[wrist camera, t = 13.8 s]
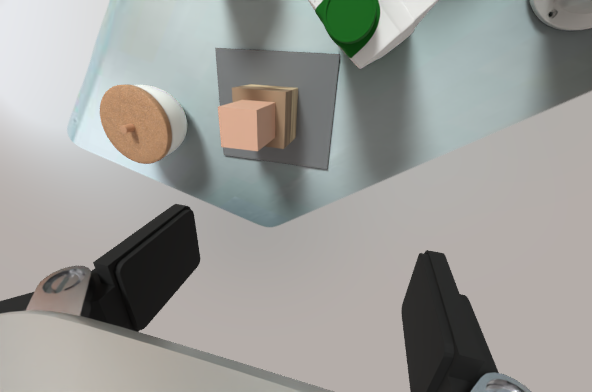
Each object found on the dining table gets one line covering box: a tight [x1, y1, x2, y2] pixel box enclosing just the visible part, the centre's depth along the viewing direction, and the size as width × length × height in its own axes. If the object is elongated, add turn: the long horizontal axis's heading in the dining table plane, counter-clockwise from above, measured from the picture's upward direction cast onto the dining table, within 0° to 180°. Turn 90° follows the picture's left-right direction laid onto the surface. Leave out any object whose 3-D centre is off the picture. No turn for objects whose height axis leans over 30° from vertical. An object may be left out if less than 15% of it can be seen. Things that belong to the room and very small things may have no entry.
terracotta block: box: [218, 100, 275, 151], centre depth 36 cm, size 5×5×7 cm
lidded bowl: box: [100, 85, 187, 164], centre depth 46 cm, size 13×13×11 cm
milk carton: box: [308, 0, 438, 69], centre depth 28 cm, size 9×9×20 cm
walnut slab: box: [232, 86, 292, 149], centre depth 41 cm, size 8×8×4 cm
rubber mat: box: [215, 48, 340, 169], centre depth 45 cm, size 20×18×1 cm
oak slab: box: [244, 84, 298, 143], centre depth 44 cm, size 8×8×4 cm
